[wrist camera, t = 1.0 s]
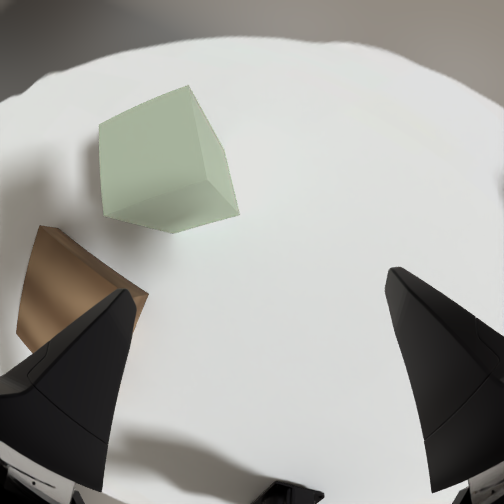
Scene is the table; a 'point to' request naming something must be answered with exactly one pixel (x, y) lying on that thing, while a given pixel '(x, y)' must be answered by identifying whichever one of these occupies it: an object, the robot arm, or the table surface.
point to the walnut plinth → (64, 287)
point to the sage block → (164, 166)
